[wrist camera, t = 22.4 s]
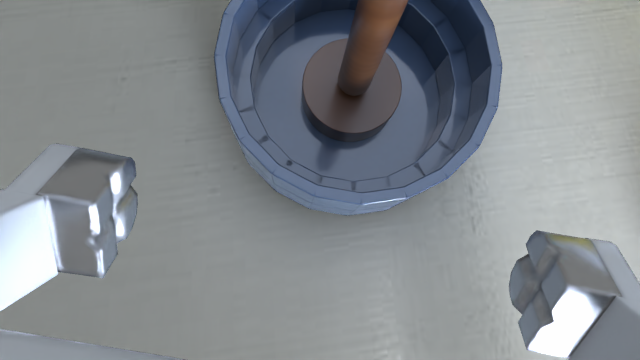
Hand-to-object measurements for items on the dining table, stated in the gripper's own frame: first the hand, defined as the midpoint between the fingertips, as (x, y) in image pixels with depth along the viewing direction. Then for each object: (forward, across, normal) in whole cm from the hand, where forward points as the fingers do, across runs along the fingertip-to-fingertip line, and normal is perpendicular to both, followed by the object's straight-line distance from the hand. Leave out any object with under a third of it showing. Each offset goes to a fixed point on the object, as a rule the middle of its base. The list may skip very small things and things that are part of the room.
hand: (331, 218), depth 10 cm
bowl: (+20, -1, +7) cm, 21 cm away
